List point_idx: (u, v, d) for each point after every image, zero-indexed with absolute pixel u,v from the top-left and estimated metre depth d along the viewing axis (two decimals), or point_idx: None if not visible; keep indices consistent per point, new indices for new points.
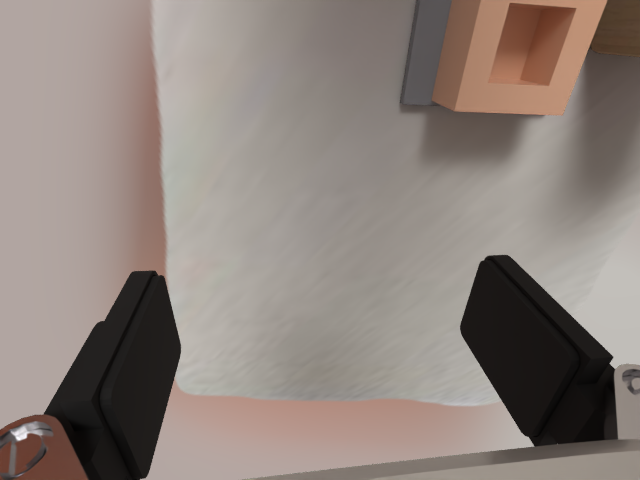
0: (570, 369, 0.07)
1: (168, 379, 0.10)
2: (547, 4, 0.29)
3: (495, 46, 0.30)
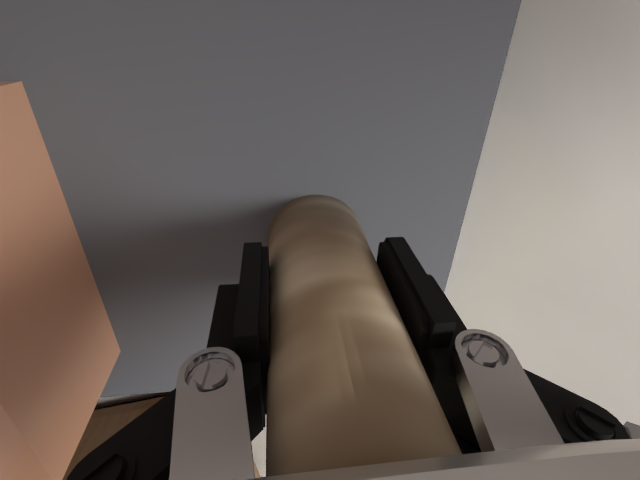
0: (422, 334, 0.08)
1: None
2: None
3: None
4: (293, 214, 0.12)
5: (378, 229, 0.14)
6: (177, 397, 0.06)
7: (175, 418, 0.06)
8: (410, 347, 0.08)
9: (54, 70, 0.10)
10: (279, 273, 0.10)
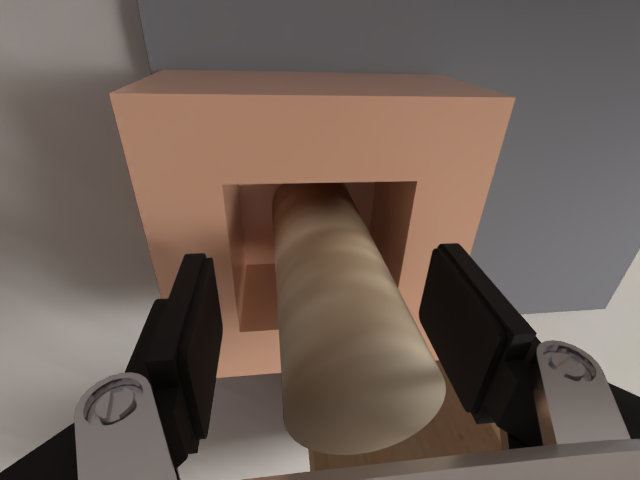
0: (498, 345, 0.08)
1: (216, 354, 0.10)
2: (404, 267, 0.13)
3: (319, 175, 0.11)
4: (294, 185, 0.14)
5: (618, 186, 0.19)
6: (78, 438, 0.06)
7: (79, 461, 0.05)
8: (388, 274, 0.10)
9: (462, 67, 0.15)
10: (284, 228, 0.12)
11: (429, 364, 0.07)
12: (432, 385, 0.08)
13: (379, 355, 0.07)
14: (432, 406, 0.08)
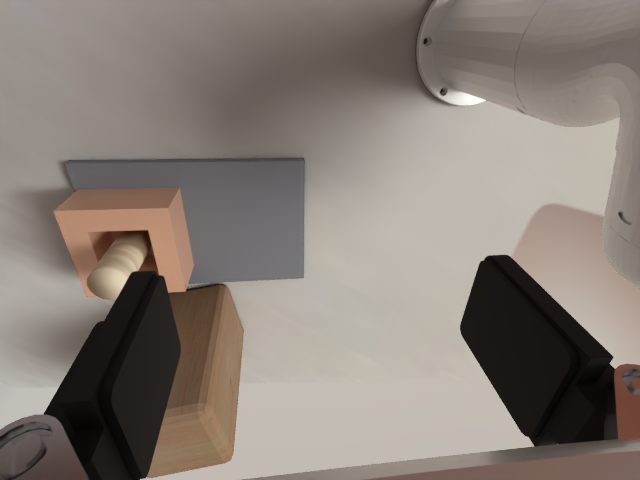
0: (570, 369, 0.07)
1: (168, 379, 0.10)
2: (155, 256, 0.40)
3: (116, 229, 0.37)
4: None
5: (276, 224, 0.46)
6: None
7: None
8: (129, 255, 0.37)
9: (187, 184, 0.42)
10: None
11: (117, 273, 0.34)
12: (121, 278, 0.34)
13: (103, 270, 0.34)
14: None
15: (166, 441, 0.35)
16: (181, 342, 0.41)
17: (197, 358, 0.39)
